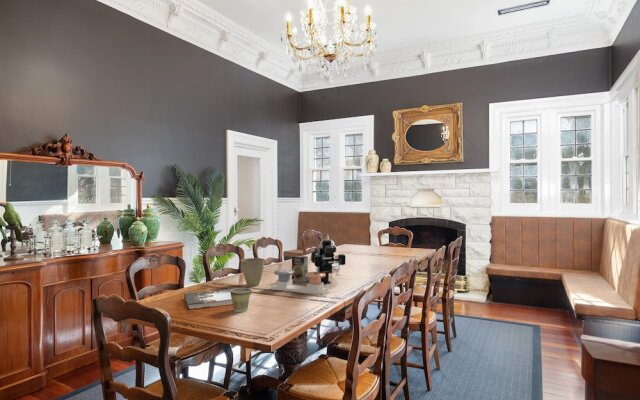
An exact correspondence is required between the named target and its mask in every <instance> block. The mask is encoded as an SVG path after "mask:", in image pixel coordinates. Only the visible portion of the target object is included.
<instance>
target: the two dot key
mask: <svg viewBox="0 0 640 400" xmlns="http://www.w3.org/2000/svg"><path fill="white" fill-rule="evenodd" d="M273 274H274V275H275V276H278V280H279V281H283V282H287V281H289V280H291V276H292V274H294V271H293V270H292V269H287V268H285V269H276V270H274V271H273Z"/></svg>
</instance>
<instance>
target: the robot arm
mask: <svg viewBox="0 0 640 400" xmlns="http://www.w3.org/2000/svg"><path fill="white" fill-rule="evenodd" d="M321 245H322V246H321V247H316V248H314V250H313V251H312V252H311V253H310V262H311V263H312V264H314V266H315V267H317V269H316V270H317V271H316V272H323V273H325V274H326V276H325V277H322V278H321V282H324V284H331V281H330V274H332V273H333V265H334V264H337V263H338V266H345V265H346V255H345V253H341V254H337V258H335V253H337V247H336V246H334V245H332V240H331V239H322V244H321Z"/></svg>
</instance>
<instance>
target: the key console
mask: <svg viewBox="0 0 640 400" xmlns="http://www.w3.org/2000/svg"><path fill="white" fill-rule="evenodd" d="M324 285H325V283H324V282H321V283H320V284H318V285H316V284H310V282H309V283H307V284H306V285H295V284H293V281H292V279H290V280H289V281H287V282H283V281H279V279H278V280H275V284H274V285H272V286H270V290H275V291H282V292H283V291H284V292H285V291H286V292H292V293H293V292H295V293H301V294H302V293H305V294H313V295H314V294H316V295H325V294H327V293H328V292H330V288H326V287H325V286H324Z"/></svg>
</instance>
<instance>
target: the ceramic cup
mask: <svg viewBox="0 0 640 400" xmlns="http://www.w3.org/2000/svg"><path fill="white" fill-rule="evenodd" d="M229 291H230V297H231V301H232V307H233V311H234V312H235V313H244V312H247V311H248V309H249V302H250V298H251V295H252V293H253V291H252V288H248V287H237V288H232V289H230V290H229Z"/></svg>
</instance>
